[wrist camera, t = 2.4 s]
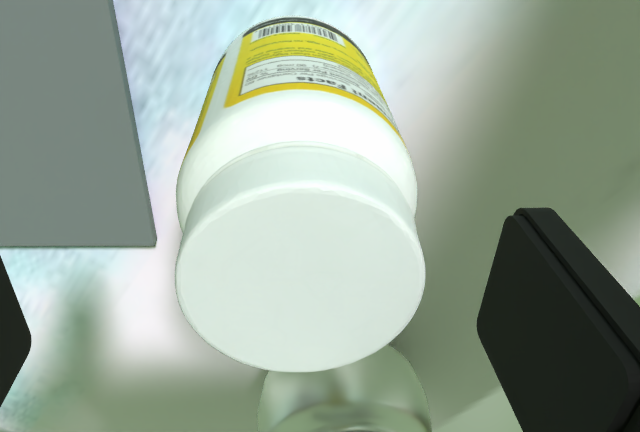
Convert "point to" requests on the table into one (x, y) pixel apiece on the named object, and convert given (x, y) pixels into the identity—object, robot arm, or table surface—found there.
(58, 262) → the table surface
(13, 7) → the mat
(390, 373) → the plastic bottle
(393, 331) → the supplement bottle
